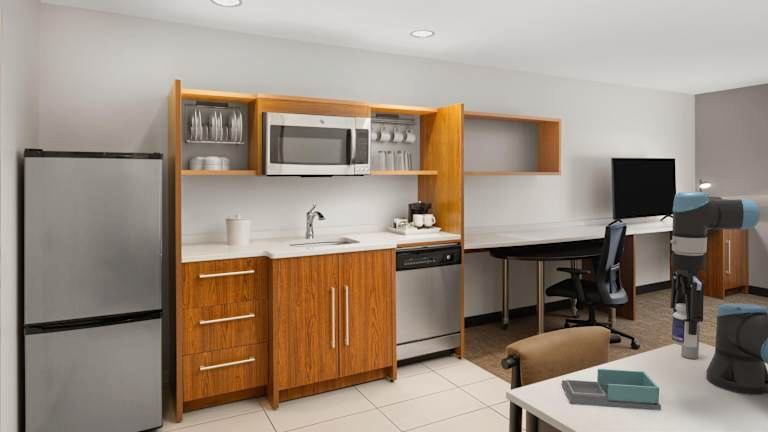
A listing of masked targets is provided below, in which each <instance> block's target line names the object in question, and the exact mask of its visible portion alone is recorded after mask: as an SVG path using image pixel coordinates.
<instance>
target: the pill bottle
mask: <svg viewBox="0 0 768 432" xmlns="http://www.w3.org/2000/svg"><path fill="white" fill-rule="evenodd" d="M675 309H676V310H677V312H675V313H674V312H673V314H672V325H671V341H672V343H674V344H675V345H678V346H681V347H682V346H684V327H685V322H684V319H687V315H686V304H683V303H678V304H676V308H675ZM698 323H699V322H698ZM699 324H700V323H699ZM697 340H698V329H697Z"/></svg>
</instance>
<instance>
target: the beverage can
mask: <svg viewBox="0 0 768 432" xmlns="http://www.w3.org/2000/svg"><path fill="white" fill-rule="evenodd" d="M700 323H701V322H699V323H698V340H697V347H685V346H681V356H682V357H683V358H685V359H688V360H697V359H698V358H699V351H700V333H701V324H700Z"/></svg>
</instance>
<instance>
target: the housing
mask: <svg viewBox="0 0 768 432" xmlns="http://www.w3.org/2000/svg"><path fill="white" fill-rule="evenodd" d="M596 382H598V383H600V384H608V398H607V399H608V400H620V401H634V402H648V403H659V404H660V402H659V401H660V387H659V386H658V385H657V383H656V382H655V381H654V380H653V379H652V378H651V377H650V375H648V374H647V372H645V371H643V370H642V371H641V370H640V371H639V370H626V369H624V370H623V369H611V368H610V369H607V368H606V369H605V368H597V380H596Z"/></svg>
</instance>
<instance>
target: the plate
mask: <svg viewBox="0 0 768 432" xmlns="http://www.w3.org/2000/svg"><path fill="white" fill-rule="evenodd" d="M561 386H562V388H563V390H564V393H565V394H566V397H567V399H568V401H569V403H570V404H572V405H574V404H575V405H585V406H586V405H587V406H601V407H613V408H614V407H615V408H627V409H643V410H653V411H655V410H656V411H657V410H658V411H661V410H662V405H661V403H660V402H659V403H648V402H634V401H620V400H608V399H607V398H608V384H600V383H598V382H597V381H592V380H590V381H589V380H578V379H577V380H575V379H566V380H561Z"/></svg>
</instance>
